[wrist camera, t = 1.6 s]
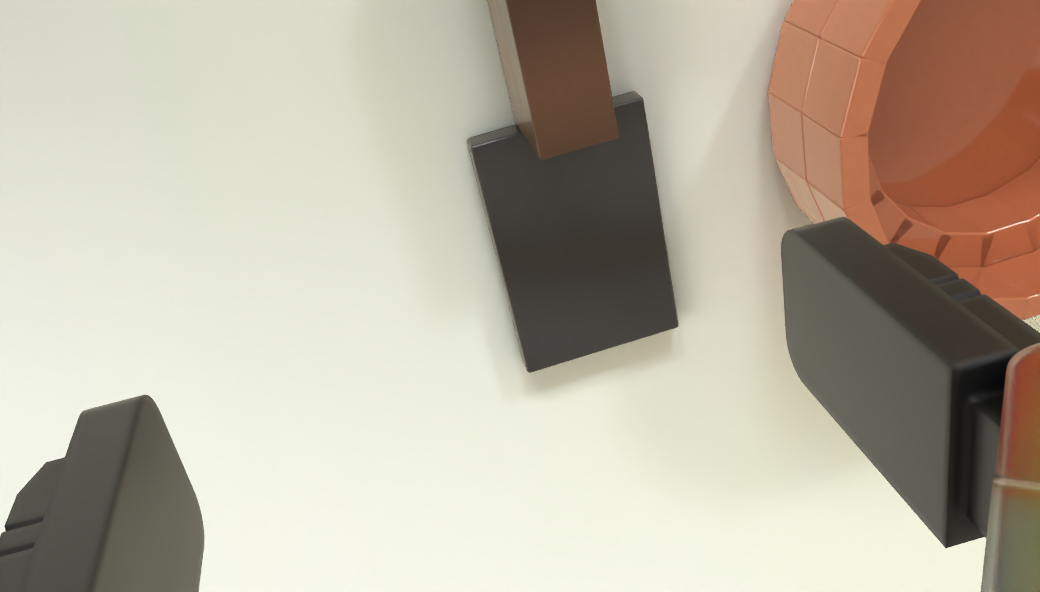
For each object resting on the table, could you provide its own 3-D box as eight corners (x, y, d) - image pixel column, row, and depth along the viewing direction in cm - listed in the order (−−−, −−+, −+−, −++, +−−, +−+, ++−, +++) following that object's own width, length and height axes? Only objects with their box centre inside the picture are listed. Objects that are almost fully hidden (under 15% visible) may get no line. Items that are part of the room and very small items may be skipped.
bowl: (740, -106, 27) (828, -84, 23) (1171, -223, 28) (1333, -222, 24) (778, 298, 34) (852, 375, 30) (1127, 190, 35) (1248, 249, 31)
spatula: (378, -201, 24) (392, -198, 22) (580, -252, 25) (619, -256, 22) (522, 361, 33) (545, 416, 30) (671, 316, 33) (707, 365, 30)
